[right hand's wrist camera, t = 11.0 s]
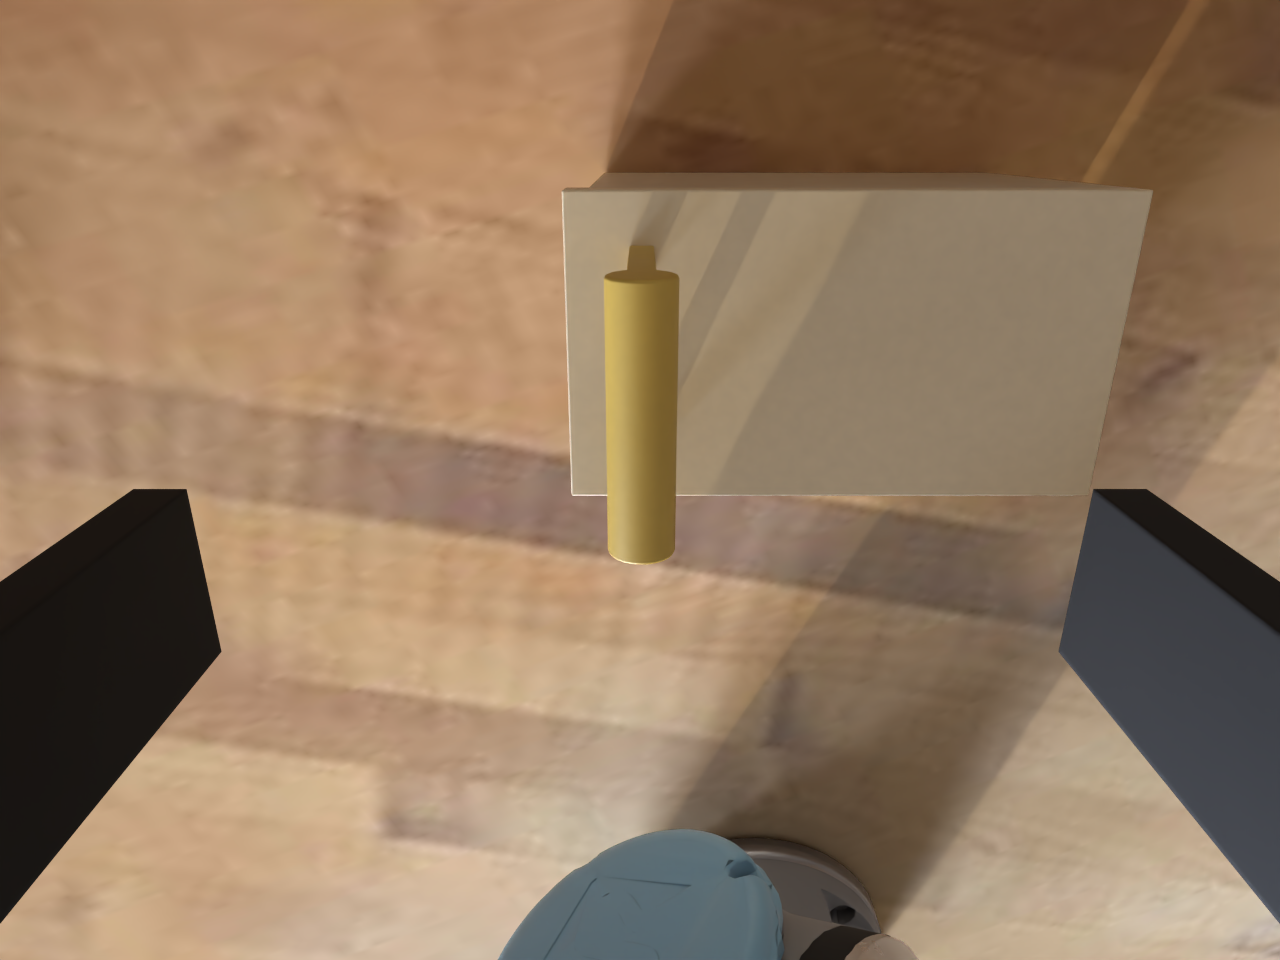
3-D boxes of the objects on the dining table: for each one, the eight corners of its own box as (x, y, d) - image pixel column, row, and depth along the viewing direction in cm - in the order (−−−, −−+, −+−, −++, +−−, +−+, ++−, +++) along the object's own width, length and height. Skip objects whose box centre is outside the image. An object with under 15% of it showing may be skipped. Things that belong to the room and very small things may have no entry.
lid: (573, 483, 28) (547, 616, 20) (564, 187, 25) (529, 210, 17) (1073, 483, 28) (1239, 616, 20) (1133, 187, 24) (1361, 210, 17)
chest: (606, 390, 38) (594, 482, 28) (603, 172, 35) (587, 187, 25) (956, 390, 38) (1072, 482, 28) (988, 172, 35) (1132, 187, 25)
